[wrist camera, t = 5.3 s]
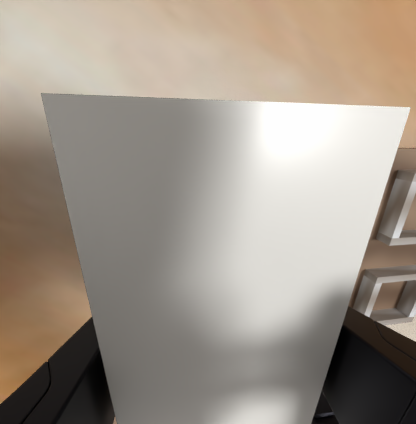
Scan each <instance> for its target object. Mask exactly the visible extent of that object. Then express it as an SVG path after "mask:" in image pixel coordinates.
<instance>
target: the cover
mask: <svg viewBox="0 0 416 424" xmlns="http://www.w3.org/2000/svg"><path fill="white" fill-rule="evenodd" d="M41 96H42V101H43V105H44V109H45V114H46V118H47V122H48V127H49V131H50V135H51V140H52V144H53V148H54V153H55V157H56V161H57V166H58V170H59V174H60V179H61V183H62V187H63V192H64V196H65V200H66V205H67V209H68V213H69V218H70V222H71V226H72V231H73V235H74V239H75V244H76V248H77V252H78V257H79V261H80V265H81V270H82V274H83V278H84V283H85V287H86V291H87V296H88V300H89V304H90V309H91V313H92V317H93V322H94V326H95V330H96V335H97V339H98V343H99V348H100V352H101V357H102V361H103V365H104V370H105V374H106V378H107V383H108V387H109V391H110V396H111V400H112V404H113V409H114V413H115V417H116V421H117V424H311V423H312V419H313V416H314V413H315V410H316V407H317V404H318V400H319V397H320V394H321V391H322V388H323V384H324V381H325V378H326V375H327V372H328V369H329V365H330V362H331V359H332V356H333V353H334V349H335V346H336V343H337V340H338V337H339V334H340V330H341V327H342V324H343V321H344V318H345V314H346V311H347V308H348V305H349V302H350V299H351V295H352V292H353V289H354V286H355V283H356V279H357V276H358V273H359V270H360V267H361V264H362V260H363V257H364V254H365V251H366V248H367V244H368V241H369V238H370V235H371V232H372V229H373V225H374V222H375V219H376V216H377V213H378V209H379V206H380V203H381V200H382V197H383V194H384V190H385V187H386V184H387V181H388V178H389V174H390V171H391V168H392V165H393V162H394V159H395V155H396V152H397V149H398V146H399V143H400V139H401V136H402V133H403V130H404V127H405V124H406V120H407V117H408V114H409V111H410V108H411V107H386V106H360V105H334V104H308V103H282V102H256V101H231V100H205V99H179V98H153V97H127V96H101V95H75V94H49V93H41Z"/></svg>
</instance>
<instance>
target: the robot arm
mask: <svg viewBox="0 0 416 424" xmlns="http://www.w3.org/2000/svg"><path fill="white" fill-rule="evenodd" d="M114 417H115V413H114V409H113V404H112V400H111V396H110V391H109V387H108V383H107V378H106V374H105V370H104V365H103V361H102V357H101V352H100V348H99V343H98V339H97V335H96V330H95V326H94V322H93V317H91V318H90V319H89V320H88V321H87V322H86V323H85V324H84V325H83V326H82V327H81V328H80V329H79V330H78V331H77V332H76V333H75V334H74V335H73V336H72V337H71V338H70V339H69V340H68V341H67V342H66V343H65V344H64V345H63V346H61V347H60V348H59V349H58V350H57V351H56V352H55V353H54V354H53V355H52V356H51V357H50V358H49V359H48V362H45V363H44V364H43V365H42V366H41V367H40V368H39V369H38V370H37V371H36V372H35V373H34V374H33V375H32V376H30V377H29V378H28V379H27V380H26V381H25V382H24V383H23V384H22V385H21V386H20V387H19V388H18V389H17V390H16V391H15V392H13V393H12V394H11V395H10V396H9V397H8V398H7V399H6V400H4V401H3V402H2V403H1V404H0V424H113V421H114ZM311 424H416V342H415V341H413V340H411V339H409V338H407V337H405V336H403V335H401V334H399V333H397V332H396V331H394V330H392V329H390V328H388V327H386V326H384V325H382V324H381V323H379V322H377V321H374V320H373V319H371V318H370V317H368V316H366V315H364V314H362V313H360V312H359V311H357V310H355V309H353V308H351V307H349V306H348V308H347V311H346V314H345V318H344V321H343V324H342V327H341V330H340V334H339V337H338V340H337V343H336V346H335V349H334V353H333V356H332V359H331V362H330V365H329V369H328V372H327V375H326V378H325V381H324V384H323V388H322V391H321V394H320V397H319V400H318V404H317V407H316V410H315V413H314V416H313V419H312V423H311Z"/></svg>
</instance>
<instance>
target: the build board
mask: <svg viewBox="0 0 416 424" xmlns="http://www.w3.org/2000/svg"><path fill="white" fill-rule="evenodd" d="M348 306H349V307H351V308H353V309H355V310H357V311H359V312H360V313H362V314H364V315H366V316H368V317H370V318H371V319H373V320H374V321H377V322H379V323H381V324H382V325H390V324H398V323H406V322H412V320H413V318H414V316H415V314H416V148H398V149H397V152H396V155H395V159H394V162H393V165H392V168H391V171H390V174H389V178H388V181H387V184H386V187H385V190H384V194H383V197H382V200H381V203H380V206H379V209H378V213H377V216H376V219H375V222H374V225H373V229H372V232H371V235H370V238H369V241H368V244H367V248H366V251H365V254H364V257H363V260H362V264H361V267H360V270H359V273H358V276H357V279H356V283H355V286H354V289H353V292H352V295H351V299H350V302H349V305H348Z"/></svg>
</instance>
